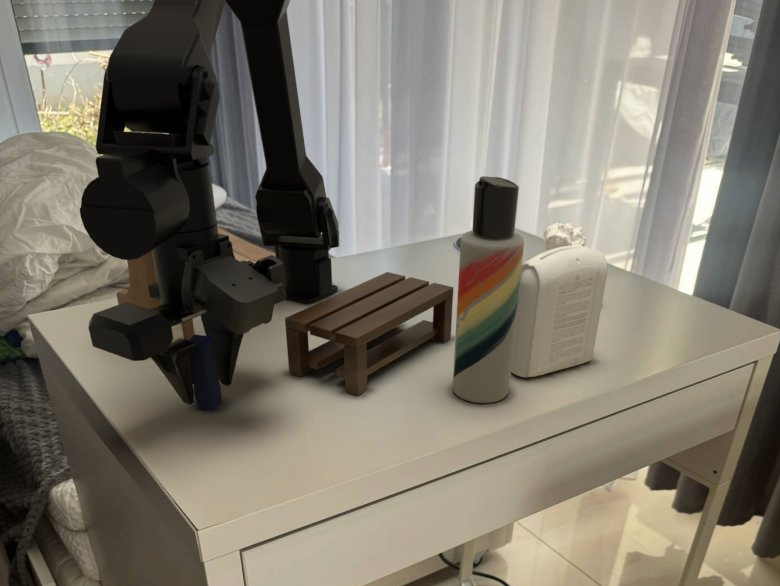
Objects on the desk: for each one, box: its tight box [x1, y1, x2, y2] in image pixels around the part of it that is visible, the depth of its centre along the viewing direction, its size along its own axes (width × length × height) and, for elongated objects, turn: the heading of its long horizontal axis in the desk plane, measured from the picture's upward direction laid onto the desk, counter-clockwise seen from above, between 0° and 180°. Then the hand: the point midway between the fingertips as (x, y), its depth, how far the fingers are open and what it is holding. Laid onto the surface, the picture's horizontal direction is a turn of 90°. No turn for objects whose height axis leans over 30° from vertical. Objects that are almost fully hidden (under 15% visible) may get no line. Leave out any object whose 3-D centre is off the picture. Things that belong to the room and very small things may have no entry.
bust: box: [542, 221, 587, 252], centre depth 94 cm, size 12×8×11 cm
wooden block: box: [116, 252, 196, 340], centre depth 83 cm, size 9×4×18 cm, turn 43°
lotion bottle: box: [452, 175, 525, 404], centre depth 72 cm, size 6×6×20 cm
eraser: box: [189, 334, 223, 411], centre depth 73 cm, size 2×2×7 cm
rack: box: [284, 271, 454, 396], centre depth 83 cm, size 9×18×6 cm, turn 146°
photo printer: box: [511, 245, 609, 378], centre depth 80 cm, size 10×4×12 cm, turn 123°
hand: (207, 393), depth 74 cm, fingers open, 5 cm apart
